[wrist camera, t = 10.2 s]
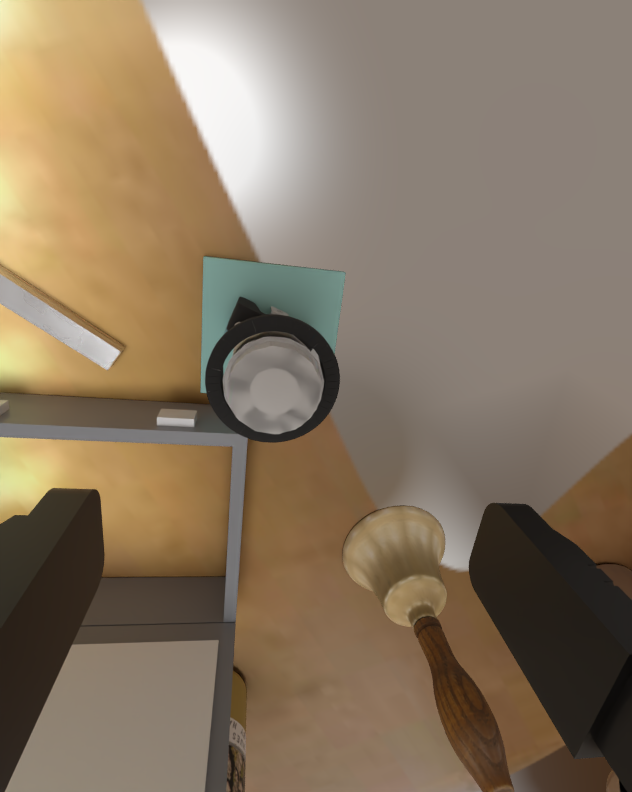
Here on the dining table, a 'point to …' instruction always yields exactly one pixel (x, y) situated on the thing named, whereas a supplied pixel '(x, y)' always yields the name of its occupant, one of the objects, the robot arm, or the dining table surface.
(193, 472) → the dining table surface
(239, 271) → the pad
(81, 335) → the rod
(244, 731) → the brown bark-textured cylinder
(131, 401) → the case
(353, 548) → the hand bell
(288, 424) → the push button
